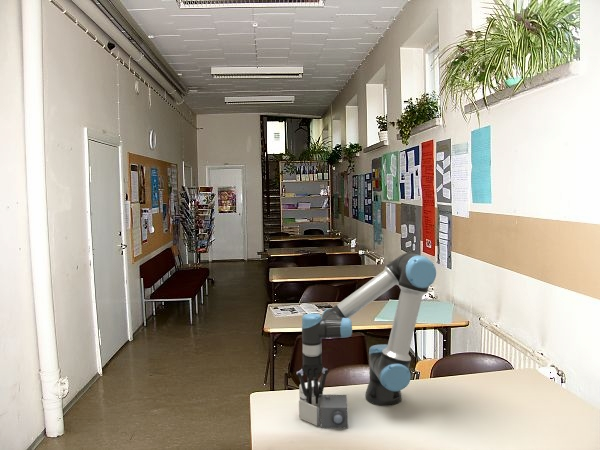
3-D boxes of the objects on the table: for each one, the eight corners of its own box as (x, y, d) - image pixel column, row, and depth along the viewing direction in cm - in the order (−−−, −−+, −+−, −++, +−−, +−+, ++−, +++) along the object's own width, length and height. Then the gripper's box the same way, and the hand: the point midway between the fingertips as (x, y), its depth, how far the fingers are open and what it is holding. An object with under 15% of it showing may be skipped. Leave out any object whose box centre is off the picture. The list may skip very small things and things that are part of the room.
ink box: (306, 417, 202) (305, 388, 201) (299, 412, 206) (298, 384, 205) (323, 411, 206) (323, 383, 205) (316, 407, 210) (315, 379, 210)
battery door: (301, 416, 201) (300, 399, 200) (320, 425, 193) (320, 407, 192) (298, 417, 200) (298, 400, 199) (318, 426, 192) (318, 408, 192)
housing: (346, 414, 203) (346, 392, 203) (347, 430, 190) (347, 408, 189) (321, 413, 204) (321, 392, 203) (320, 430, 190) (320, 407, 190)
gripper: (325, 349, 204) (326, 405, 206) (293, 351, 201) (295, 409, 203) (330, 355, 197) (331, 413, 198) (297, 358, 194) (299, 417, 196)
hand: (313, 411), depth 201 cm, fingers closed
